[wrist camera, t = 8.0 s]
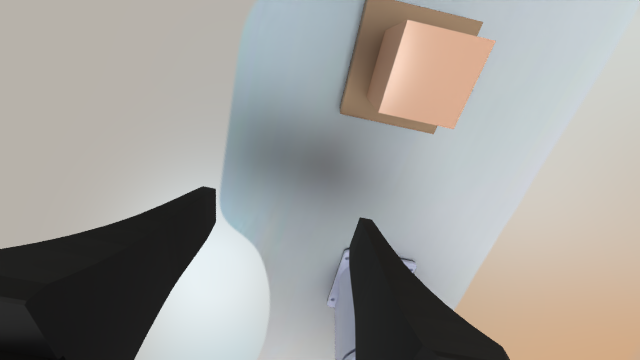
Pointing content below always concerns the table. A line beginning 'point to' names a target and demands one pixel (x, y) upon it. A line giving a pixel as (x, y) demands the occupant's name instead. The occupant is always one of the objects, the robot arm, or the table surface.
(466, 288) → the table surface
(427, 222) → the table surface
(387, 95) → the block
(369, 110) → the plinth
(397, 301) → the robot arm
